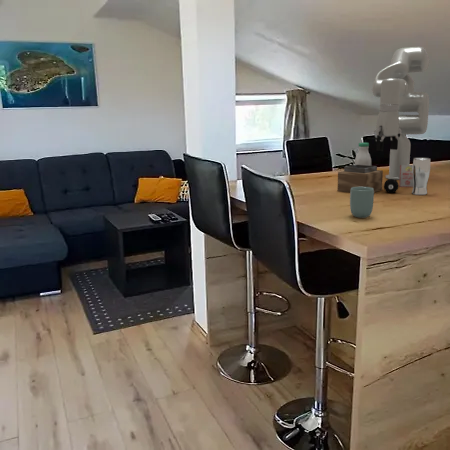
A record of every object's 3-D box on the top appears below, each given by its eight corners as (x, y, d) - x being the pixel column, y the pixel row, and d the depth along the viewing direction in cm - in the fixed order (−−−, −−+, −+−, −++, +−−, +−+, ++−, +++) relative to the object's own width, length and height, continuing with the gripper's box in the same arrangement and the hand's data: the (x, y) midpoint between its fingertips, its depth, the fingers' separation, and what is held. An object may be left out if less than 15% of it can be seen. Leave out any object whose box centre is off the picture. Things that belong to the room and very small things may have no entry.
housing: (354, 186, 226) (355, 163, 224) (381, 190, 216) (383, 166, 213) (337, 190, 217) (338, 167, 214) (364, 194, 207) (365, 169, 204)
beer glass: (427, 192, 207) (430, 157, 204) (428, 195, 201) (431, 159, 197) (410, 192, 209) (412, 157, 206) (410, 195, 203) (413, 159, 199)
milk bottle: (371, 186, 226) (373, 143, 221) (354, 186, 227) (355, 143, 222) (369, 183, 233) (371, 142, 228) (353, 183, 235) (354, 142, 230)
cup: (346, 214, 172) (347, 187, 170) (367, 213, 173) (368, 186, 170) (354, 219, 165) (355, 191, 162) (376, 218, 165) (377, 190, 163)
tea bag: (399, 185, 226) (400, 164, 223) (414, 186, 223) (416, 164, 221) (399, 187, 222) (400, 165, 220) (414, 187, 220) (416, 165, 218)
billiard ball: (383, 193, 208) (383, 179, 207) (383, 191, 214) (384, 177, 212) (397, 194, 206) (398, 180, 205) (398, 191, 212) (399, 178, 210)
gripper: (394, 109, 210) (391, 148, 214) (368, 109, 200) (366, 151, 204) (409, 108, 204) (406, 149, 208) (383, 109, 194) (381, 152, 198)
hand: (386, 150), depth 206 cm, fingers open, 9 cm apart
